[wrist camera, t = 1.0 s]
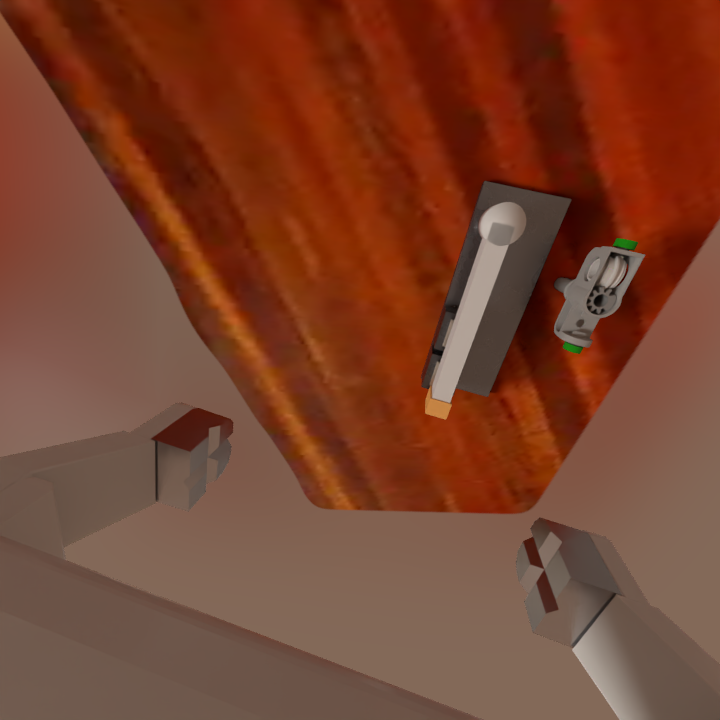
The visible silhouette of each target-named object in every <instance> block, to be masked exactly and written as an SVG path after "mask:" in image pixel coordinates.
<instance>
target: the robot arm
mask: <svg viewBox="0 0 720 720" xmlns="http://www.w3.org/2000/svg"><path fill="white" fill-rule="evenodd" d="M232 433H233V422H232V420H231V419H229V418H226V417H223V416H220V415H217V414H214V413H211V412H208V411H206V410H203V409H200V408H196V407H193V406H190V405H187V404H184V403H175V404H174V405H172V406H171V407H169V408H167V409H166V410H164V411H163V412H161V413H160V414H158V415H157V416H155V417H154V418H152V419H150V420H149V421H147V422H146V423H144V424H142V425H141V426H140V427H138V428H136V429H135V430H133V431H132V432H130V433H129V432H126V431H122V432H117V433H112V434H107V435H102V436H98V437H93V438H89V439H84V440H79V441H74V442H70V443H65V444H60V445H55V446H51V447H46V448H41V449H37V450H32V451H27V452H23V453H18V454H13V455H9V456H4V457H0V720H483V719H481V718H478V717H475V716H473V715H470V714H468V713H465V712H462V711H459V710H457V709H454V708H452V707H449V706H447V705H444V704H441V703H439V702H436V701H433V700H431V699H428V698H425V697H423V696H420V695H417V694H415V693H412V692H410V691H407V690H404V689H402V688H399V687H397V686H394V685H391V684H389V683H386V682H384V681H381V680H378V679H376V678H373V677H370V676H368V675H365V674H363V673H360V672H357V671H355V670H352V669H349V668H347V667H344V666H342V665H339V664H336V663H334V662H331V661H328V660H326V659H323V658H321V657H318V656H315V655H312V654H310V653H308V652H305V651H302V650H300V649H297V648H294V647H292V646H289V645H287V644H284V643H281V642H279V641H276V640H273V639H271V638H268V637H266V636H263V635H260V634H258V633H255V632H252V631H250V630H247V629H245V628H242V627H239V626H237V625H234V624H231V623H229V622H226V621H224V620H221V619H219V618H216V617H213V616H211V615H208V614H205V613H203V612H200V611H198V610H195V609H192V608H190V607H187V606H184V605H182V604H179V603H177V602H174V601H171V600H169V599H166V598H164V597H161V596H158V595H156V594H153V593H151V592H148V591H145V590H142V589H140V588H137V587H135V586H132V585H129V584H127V583H124V582H122V581H119V580H117V579H114V578H111V577H109V576H106V575H103V574H101V573H98V572H96V571H93V570H90V569H88V568H85V567H83V566H80V565H77V564H74V563H72V562H69V561H67V560H66V557H65V551H64V547H66V546H68V545H70V544H72V543H74V542H76V541H78V540H80V539H82V538H85V537H86V536H89V535H91V534H93V533H95V532H97V531H99V530H101V529H103V528H105V527H107V526H110V525H112V524H114V523H116V522H118V521H120V520H122V519H124V518H126V517H128V516H130V515H133V514H134V513H137V512H139V511H141V510H143V509H145V508H147V507H149V506H151V505H153V504H155V503H156V502H160V503H163V504H166V505H169V506H172V507H175V508H179V509H182V510H185V511H189V510H190V509H191V508H192V507H193V506H194V505H195V503H196V502H197V501H198V500H199V499H200V498H201V497H202V496H203V495H204V493H205V492H206V484H207V483H209V482H212V481H215V480H217V479H218V477H219V476H220V475H221V474H222V472H223V471H224V469H225V467H226V465H227V463H228V461H229V458H230V454H231V444H230V443H229V441H228V439H227V438H228V437H229V436H230V435H231V434H232ZM531 531H532V535H533V537H532V538H529V539H527V540H525V541H523V542H522V544H521V546H520V548H519V550H518V554H517V560H516V568H517V575H518V579H519V583H520V584H521V585H522V587H523V588H524V589H525V590H526V592H527V593H528V596H527V598H526V600H525V601H524V602H525V606H526V609H527V613H528V617H529V620H530V624H531V627H532V631H533V633H535V634H538V635H540V636H543V637H546V638H548V639H551V640H554V641H556V642H559V643H561V644H564V645H567V646H569V647H572V648H573V649H572V650H573V652H574V653H575V655H576V656H577V658H578V659H579V661H580V662H581V663H582V665H583V667H584V668H585V669H586V671H587V672H588V674H589V675H590V677H591V678H592V680H593V681H594V683H595V684H596V686H597V687H598V689H599V690H600V692H601V693H602V694H603V696H604V697H605V699H606V700H607V702H608V703H609V705H610V706H611V708H612V709H613V711H614V712H615V714H616V715H617V716H618V718H619V719H620V720H720V664H719V663H718V662H717V661H716V660H715V659H713V658H712V657H711V656H710V655H709V654H708V653H707V652H706V651H705V650H704V649H702V648H701V647H700V646H699V645H698V644H697V643H696V642H695V641H694V640H692V639H691V638H690V637H689V636H688V635H687V634H686V633H685V632H684V631H683V630H682V629H680V628H679V627H678V626H677V625H676V624H675V623H674V622H673V621H672V620H670V619H669V618H668V617H667V616H666V615H665V614H664V613H663V612H662V611H661V610H660V609H658V608H656V607H653V606H650V604H649V603H648V601H647V599H646V598H645V596H644V594H643V593H642V591H641V589H640V588H639V586H638V585H637V583H636V581H635V580H634V578H633V576H632V575H631V573H630V571H629V570H628V568H627V566H626V565H625V563H624V562H623V560H622V558H621V557H620V555H619V553H618V552H617V550H616V549H615V547H614V545H613V544H612V542H611V541H610V540H609V539H607V538H606V537H604V536H601V535H597V534H594V533H591V532H587V531H584V530H582V531H581V530H578V529H575V528H572V527H569V526H566V525H563V524H559V523H556V522H553V521H550V520H546V519H543V518H539V519H537V520H536V521H535V522H534V524H533V525H532V527H531Z"/></svg>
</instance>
